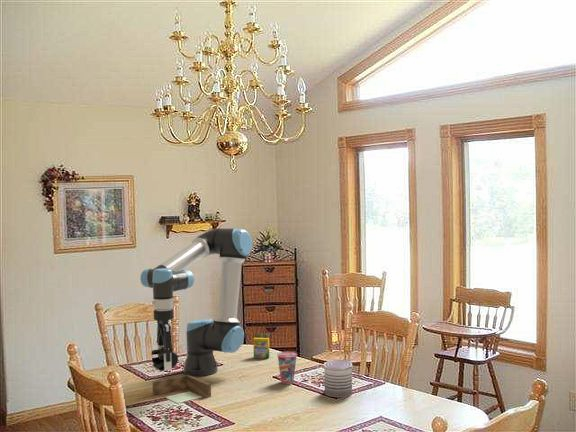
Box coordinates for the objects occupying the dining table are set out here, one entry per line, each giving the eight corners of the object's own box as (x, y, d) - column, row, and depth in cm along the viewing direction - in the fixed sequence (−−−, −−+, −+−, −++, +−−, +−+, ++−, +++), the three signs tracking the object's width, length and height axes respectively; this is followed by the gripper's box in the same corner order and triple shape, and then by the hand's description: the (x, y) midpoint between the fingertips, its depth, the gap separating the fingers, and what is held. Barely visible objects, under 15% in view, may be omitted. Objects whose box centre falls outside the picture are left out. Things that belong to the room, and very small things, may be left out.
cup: (274, 384, 268) (273, 355, 268) (282, 378, 276) (281, 350, 276) (295, 386, 265) (294, 357, 264) (302, 380, 273) (302, 352, 272)
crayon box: (253, 358, 311) (253, 334, 310) (254, 356, 314) (254, 333, 313) (268, 358, 309) (268, 334, 309) (269, 357, 312) (269, 333, 312)
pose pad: (190, 392, 259) (190, 391, 259) (201, 397, 252) (201, 396, 252) (165, 397, 252) (165, 397, 252) (177, 403, 245) (177, 402, 245)
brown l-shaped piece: (187, 386, 266) (187, 374, 266) (211, 396, 253) (210, 383, 252) (152, 394, 256) (152, 381, 256) (175, 405, 242) (174, 392, 242)
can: (358, 392, 256) (358, 362, 255) (340, 399, 248) (340, 368, 247) (336, 386, 264) (335, 357, 263) (318, 393, 255) (317, 363, 255)
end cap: (178, 368, 245) (178, 350, 245) (160, 371, 242) (160, 353, 241) (169, 362, 254) (168, 345, 254) (151, 365, 250) (151, 348, 250)
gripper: (148, 305, 256) (149, 359, 257) (159, 315, 235) (161, 375, 236) (167, 303, 259) (168, 357, 260) (179, 313, 238) (181, 372, 239)
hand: (164, 366), depth 248 cm, fingers closed on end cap, 10 cm apart
